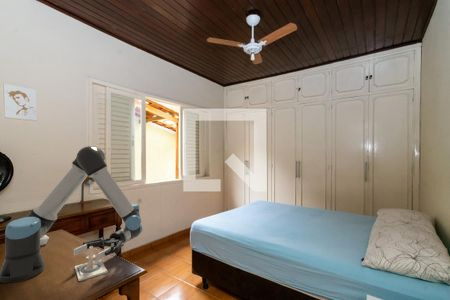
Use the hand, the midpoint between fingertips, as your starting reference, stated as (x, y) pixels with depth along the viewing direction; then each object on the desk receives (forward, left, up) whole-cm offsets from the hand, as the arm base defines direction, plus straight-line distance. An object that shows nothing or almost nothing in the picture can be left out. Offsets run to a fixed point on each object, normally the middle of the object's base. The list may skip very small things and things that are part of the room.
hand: (85, 254), depth 101 cm
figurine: (-52, -16, -9) cm, 55 cm away
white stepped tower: (-2, +2, -8) cm, 8 cm away
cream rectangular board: (-2, +2, -8) cm, 9 cm away
